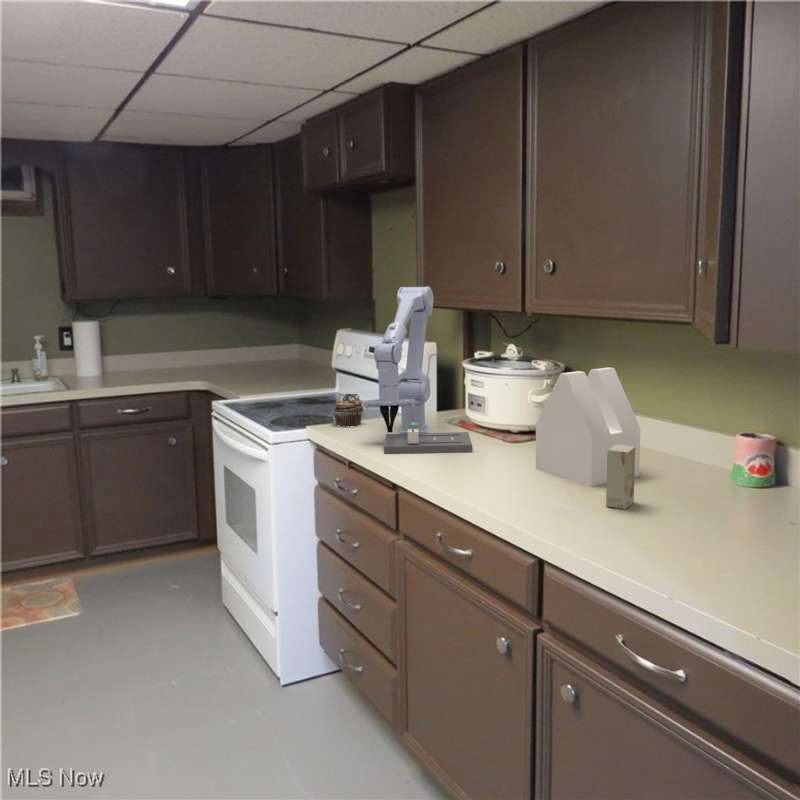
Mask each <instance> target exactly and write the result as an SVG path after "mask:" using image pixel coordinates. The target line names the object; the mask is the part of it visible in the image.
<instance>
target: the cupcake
mask: <svg viewBox="0 0 800 800" xmlns="http://www.w3.org/2000/svg"><path fill="white" fill-rule="evenodd" d="M360 398H361V397H360V396H359V394H358V393H345V394H342V396H341V397H340V398H339V399H338V401H337V402H336V404H335V408H334V409H333V415H334V419H335V420H334V421H335V424H336V426H337V425H339V426H349V427H348V428H351V427H350V426H355V427H358V426H360V425H361V422H362V416H363V412H364V406H362V404H363V403H362V401H361V400H360ZM339 426H338V427H339Z"/></svg>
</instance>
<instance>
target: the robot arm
mask: <svg viewBox="0 0 800 800" xmlns="http://www.w3.org/2000/svg"><path fill="white" fill-rule="evenodd" d="M396 300H397V311H396V314H395V317H394V321H393V322H392V323H389V324H388V326H387V329H386V331H385V333H384V336H383V338H382V340H381V342H380V343H378V344H377V345H376V346H374V347H375V348H374V351H373V352H374V353H373V358H374V361H375V367H376V370H377V371H378V374H377V375H378V376H377V377H378V399H365V400H363V409H368V408H379V411H380V414H381V416H382V417H383V420H384V423H385V426H386V430H387V433H393V432H394V431H393V428H394V423H395V420H396V417H397V415H398V412H399V409H400V408H401V410H400V412H401V425H400V430H399V434H404V433H408V422H418V431H419V433H428V432H427V425H426V411H425V409H426V408H425V407H426V406H425V405H426V403H427V401H429V399H430V396H431V385H430V383H431V380H430V377H429V376H428V375H427V374H426V373H425V372H424V371H423V364H424V354H425V343H426V336H427V335H426V334H427V333H426V332H427V326H428V325H427V324H428V318H429V317H430V316H432V315H433V308H434V300H435V299H434V293H433V290H432V288H431V287H430V286H401V287H399V289H398V291H397V294H396ZM409 321H410V326H409V335H408V336H409V337H408V345H407V357H406V364H405V365H406V366H405V370H404V371H402V372H401V373H400V374H399V363H400V361H401V360H402V354H403V344H404V340H405V338H406V336H407V332H408V330H407V327H406V326H407V324H408V323H409Z"/></svg>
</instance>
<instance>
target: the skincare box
mask: <svg viewBox="0 0 800 800" xmlns="http://www.w3.org/2000/svg"><path fill="white" fill-rule="evenodd" d="M634 471H635V447H633V446H625V445H615V446H613V447H611V448H610V449H609V450H607V483H606V489H605V490H606V493H605V494H606V495H605V497H606V498H605V507H609V508H616V509H621V510H622V509H623V510H626V509H627V508H629V507H630V506H631V505H632V504H633V503H634V499H635V498H634V497H635V477H634Z"/></svg>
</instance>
